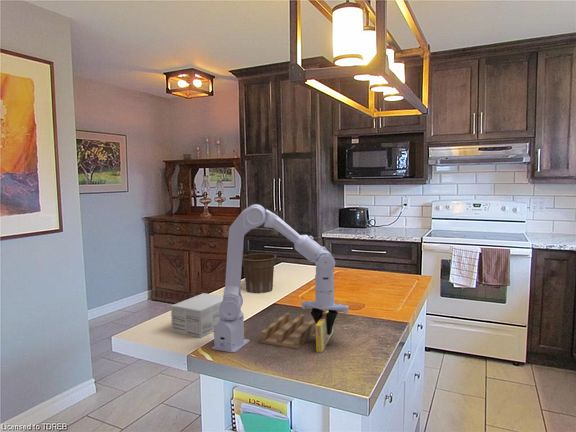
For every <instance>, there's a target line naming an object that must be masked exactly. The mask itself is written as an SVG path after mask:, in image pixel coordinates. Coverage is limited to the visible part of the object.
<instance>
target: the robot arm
mask: <svg viewBox="0 0 576 432" xmlns="http://www.w3.org/2000/svg"><path fill="white" fill-rule="evenodd" d="M262 225H263V228H269V229H270V228H271V229H274V230H275V231H277V232H278V233H280V234H281V235H282V236H284V237H285V238H286V239H287V240H289V241H290V242H292V243H293V244H294V250H295V251H296V252H298V253H299V254H300V255H301V256H303V257H304V258H305V259H306V260H308V261H309V262H310V263H314V265H315V276H314V280H315V281H314V282H315V285H314V286H315V291H314V293H315V297H314V298H315V300H314V301H313V300H312V301H311V300H303V301H302V302H301V309H303V310H306V309H308V310H309V309H310V310H311V312H310V315H311V317H312V319H313V318H314V320H315V323H316V324H317V322H318V321H319V320H320V318H321V317H322V316H323V314H324V311H329V312H328V313H327V314H326V317H327V334H328V335H330V334H331V333H332V327H333V328H334V323H335V321H336V318H337V316H338V314H339V313H343V314H346V315H347V314H348V313H349V312H350V311H349V308H350V307H349V305H345V304H340V303H338V302H337V303H336V302H335V275H334V272H335V270H334V269H335V266H336V264H337V263H336V260H335V258H334V256H333V255H332V253H331V252H330V251H329V250H328V249H327V247H325V246H321V245H320V244H319V243H318V242H317V241H315V240H314V237H313V236H312V235H308V234H299V233H298V232H297V231H296V230H295V229H293V228H292V227H291V225H289V224H287V222H286V221H284V220H283V219H282V218H281V217H279V215H277V214H275V213H274V212H272V211H270V210H269V209H268V208H265V207H264V206H262V205H261V204H258V203H256V204H255V203H254V204H251V205H250V206H248V207H246V208H245V209H243V210H242V211H241V212H240V214H239V215H238V216H237V217H236V219H235V220H234V221H233V223H231V225H230V226H229V229H228V238H227V239H228V240H227V251H226V253H227V255H226V268H225V284H224V290H223V295H222V296H223V301H222V303H221V304H220V307H219V312H220V320H219V322H218V323H217V324H216V326H215V328H214V331H213V338H214V340H213V341H214V342H213V344H214V345H213V346H212V347H211V349H212V350H216V351H221V352H227V353H233V354H234V353H236V352H238V351H239V350H240V349H242V348H243V347H244V346H246V345H247V344H248V343H249V342H250V339H247V338H246V339H245V327H244V325H245V321H244V319H245V318H244V313H243V312H242V310H241V309H242V306H243V302H244V299H243V295H242V293H241V291H242V288H241V287H242V286H241V282H242V271H243V269H242V267H243V263H242V256H244V254H243V253H244V241H245V240H244V237H245V235H246V234H247V233H249V232H250V231H251V230H252V229H256V228H259V227H260V226H262Z"/></svg>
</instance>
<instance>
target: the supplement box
mask: <svg viewBox="0 0 576 432" xmlns="http://www.w3.org/2000/svg"><path fill="white" fill-rule="evenodd" d="M222 301H223V295H220V294H219V295H218V294H211V293H206V292H202V293H201V294H198V295H195V296H192V297H190V298H188V299H185V300H182V301H179V302H177V303H174V304H172V305H170V312H171V315H170V316H171V332H173V333H177V334H182V335H185V336H192V337H196V338H199V339H202V338H204V337H206V336H208V335H209V334H211V333H214V328H215V326H216V324H217V323H218V322H219V320H220V312H219V307H220V304H221V303H222Z"/></svg>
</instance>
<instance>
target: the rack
mask: <svg viewBox="0 0 576 432" xmlns="http://www.w3.org/2000/svg"><path fill="white" fill-rule="evenodd" d="M305 319H306V315H305V314H299V315H298V316H297V317H296V318H294V319H291V312H285V313H284V314H282V315H281V316H279V318H277V319H276V320H274V321H273V322H272V323H270V324H269V325H268V326H266V327H265V328H263V330H261V331H260V344H266V345H272V346H276V347H286V348H291V349H300V348H301V347H302V346H303V344H305V343H306V342H307V340H308V339H309V338H310V337H311V336H312V335H313V334H314V333H316V332H315V325H316V323H315V320H314V318H313V317H312V319H310V321H306V320H305Z"/></svg>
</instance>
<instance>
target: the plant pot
mask: <svg viewBox="0 0 576 432" xmlns="http://www.w3.org/2000/svg"><path fill="white" fill-rule="evenodd" d="M276 258H277V255H276V254H273V253H249V254H243V256H242V267H243V272H244V281H245V290H246V292H248V293H249V294H262V293H263V294H266V293H270V292H271V291H273V290H274V289H273V286H274V285H273V284H274V274H275V273H274V271H275V266H276Z"/></svg>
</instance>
